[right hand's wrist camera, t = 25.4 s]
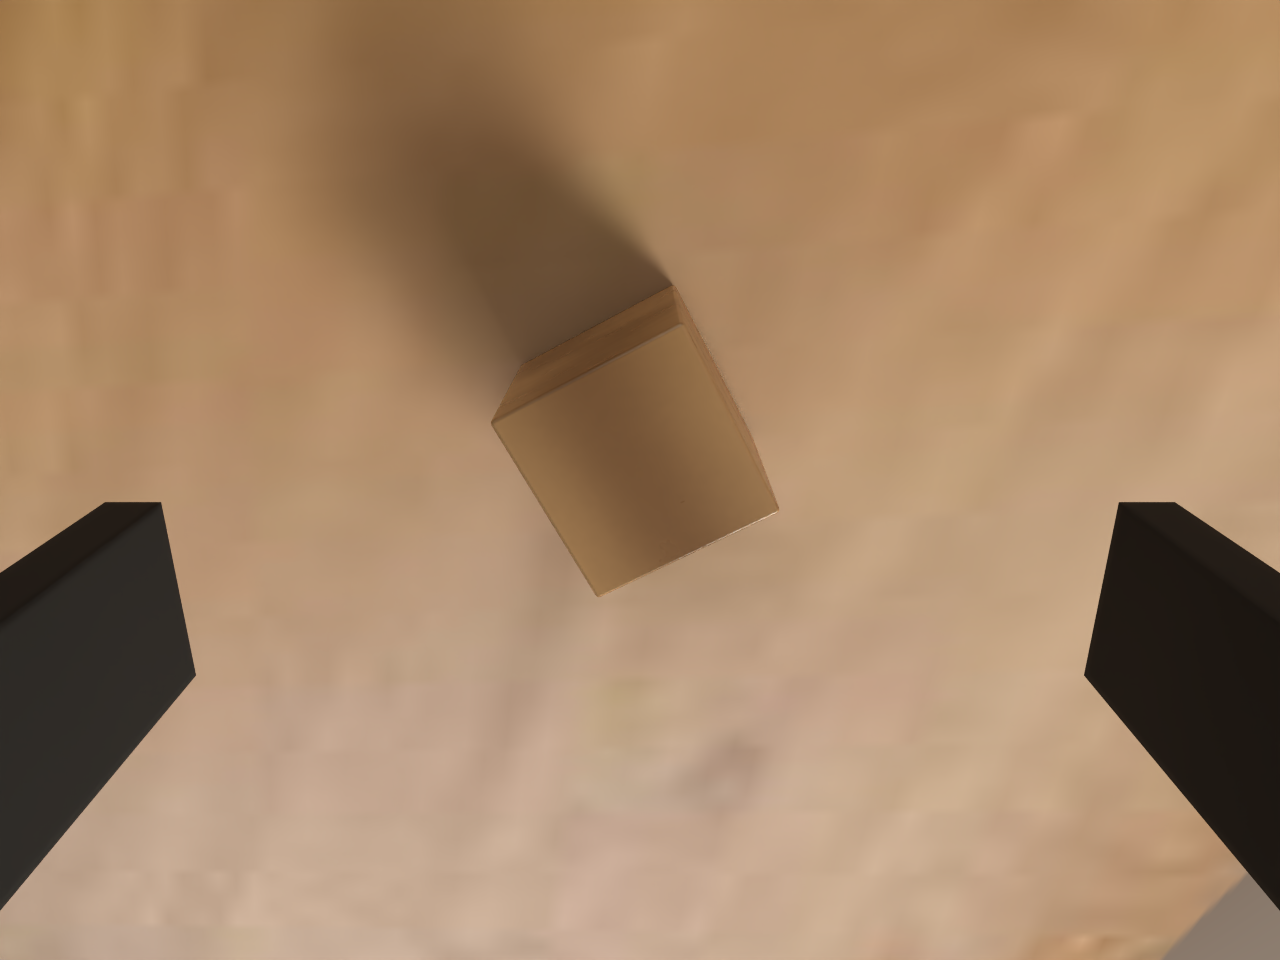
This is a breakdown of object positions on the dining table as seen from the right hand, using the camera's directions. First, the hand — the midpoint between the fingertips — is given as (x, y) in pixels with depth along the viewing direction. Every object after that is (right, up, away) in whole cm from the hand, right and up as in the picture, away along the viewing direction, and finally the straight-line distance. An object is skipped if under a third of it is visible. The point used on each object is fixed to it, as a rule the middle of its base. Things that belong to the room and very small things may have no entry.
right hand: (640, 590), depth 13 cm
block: (0, +3, +9) cm, 10 cm away
